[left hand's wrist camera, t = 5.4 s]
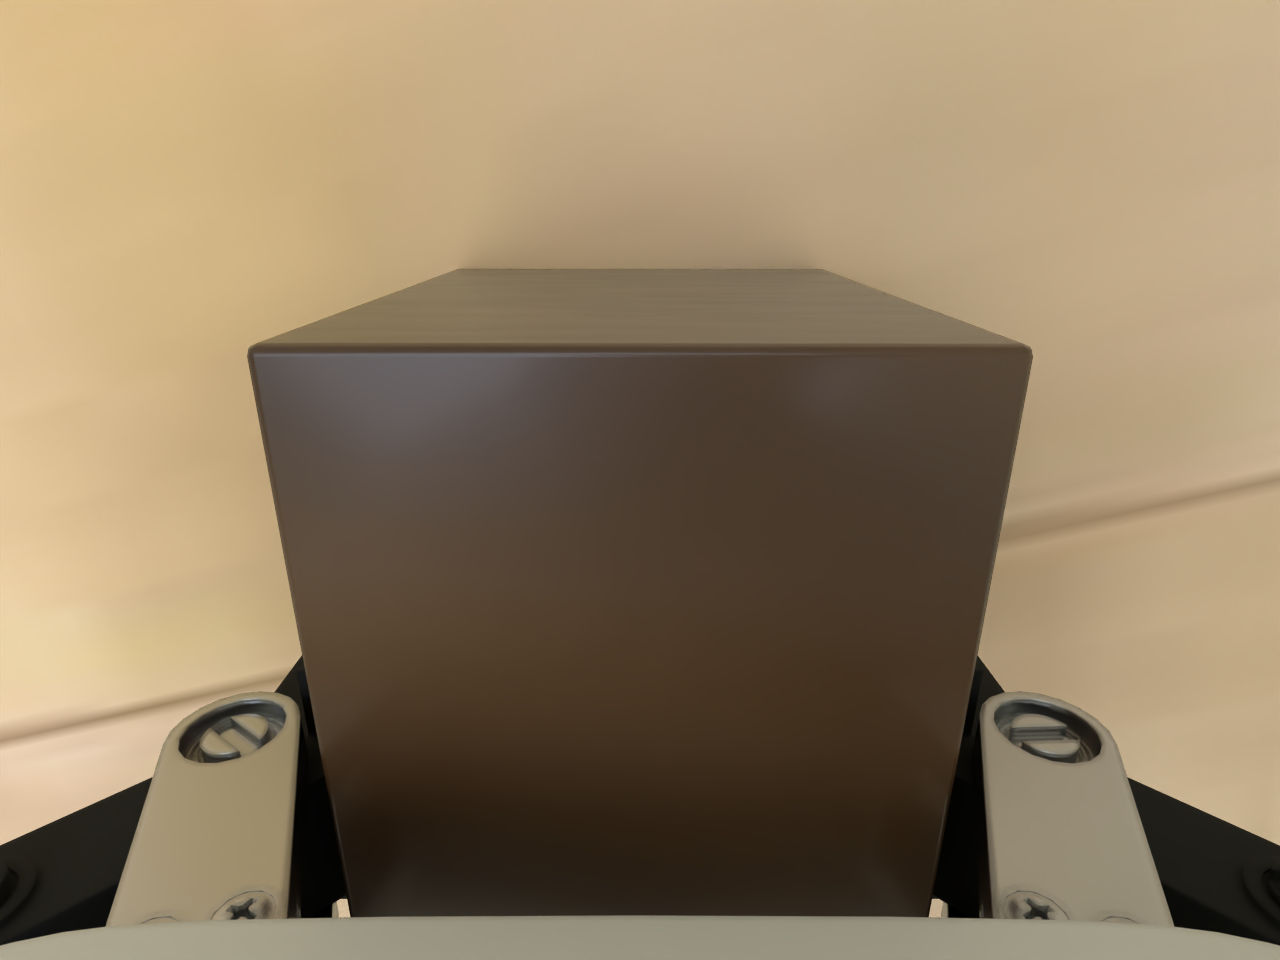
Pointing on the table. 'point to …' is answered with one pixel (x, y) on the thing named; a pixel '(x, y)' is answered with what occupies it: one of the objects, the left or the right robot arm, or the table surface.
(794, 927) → the left robot arm
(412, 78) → the table surface
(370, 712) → the bar
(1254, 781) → the table surface
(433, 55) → the table surface
